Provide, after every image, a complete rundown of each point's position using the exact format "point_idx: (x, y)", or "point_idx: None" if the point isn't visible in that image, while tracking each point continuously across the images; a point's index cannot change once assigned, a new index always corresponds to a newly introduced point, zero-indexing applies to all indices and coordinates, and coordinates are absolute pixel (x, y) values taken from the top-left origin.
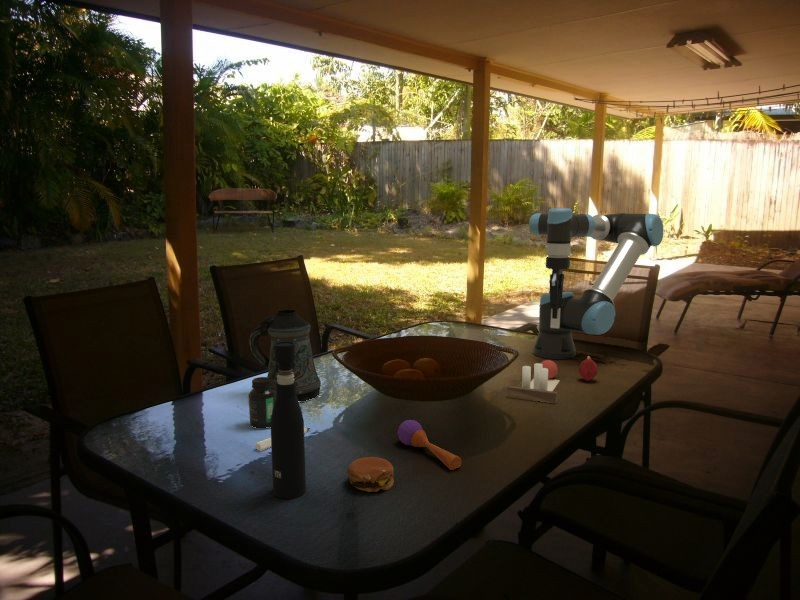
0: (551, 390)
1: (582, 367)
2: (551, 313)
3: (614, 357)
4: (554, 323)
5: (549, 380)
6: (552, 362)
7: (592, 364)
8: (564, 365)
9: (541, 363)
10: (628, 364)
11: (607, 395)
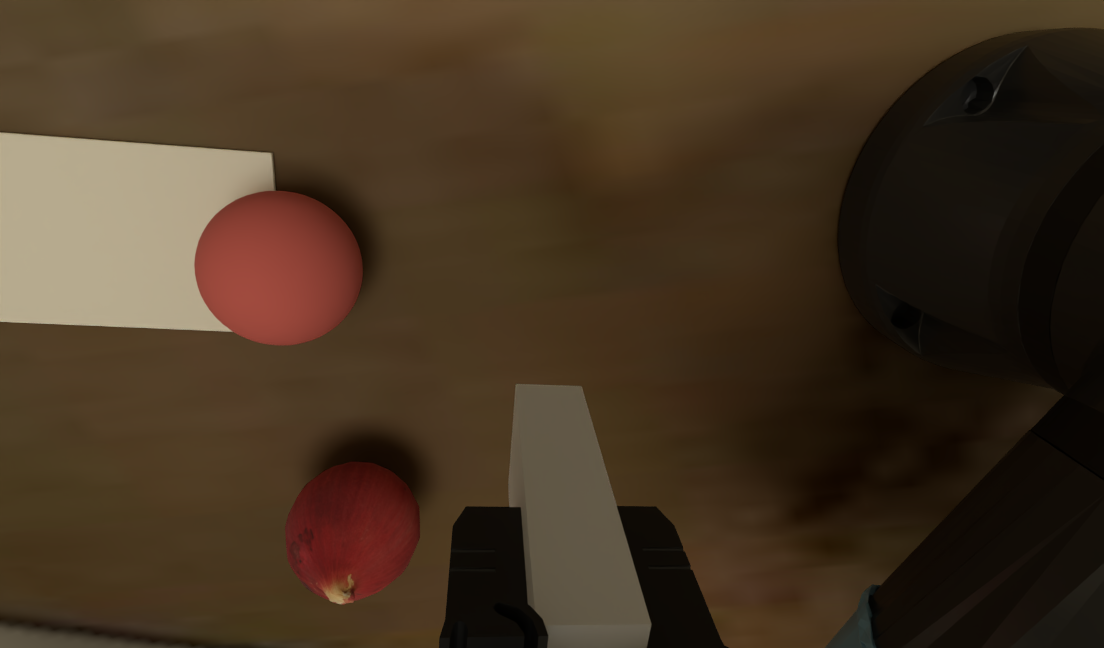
0: (8, 314)
1: (293, 517)
2: (525, 541)
3: None
4: (514, 473)
5: None
6: (248, 326)
7: (308, 589)
8: (691, 313)
9: (228, 230)
10: (798, 620)
11: (139, 588)
